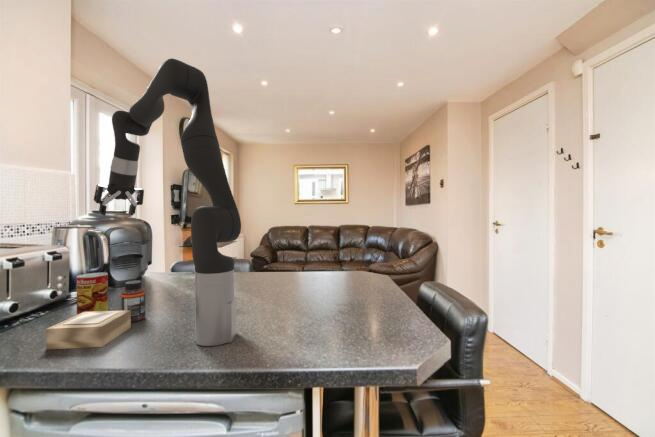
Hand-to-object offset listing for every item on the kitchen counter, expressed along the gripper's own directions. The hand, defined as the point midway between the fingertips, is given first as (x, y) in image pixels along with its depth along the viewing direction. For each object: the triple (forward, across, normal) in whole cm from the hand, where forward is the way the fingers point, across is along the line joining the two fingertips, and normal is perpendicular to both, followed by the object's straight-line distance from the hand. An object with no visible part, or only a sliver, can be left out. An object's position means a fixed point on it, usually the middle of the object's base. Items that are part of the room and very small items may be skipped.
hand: (117, 214), depth 104 cm
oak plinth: (+19, -16, -39) cm, 46 cm away
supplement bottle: (+21, -4, -34) cm, 40 cm away
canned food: (+28, -9, -16) cm, 33 cm away
